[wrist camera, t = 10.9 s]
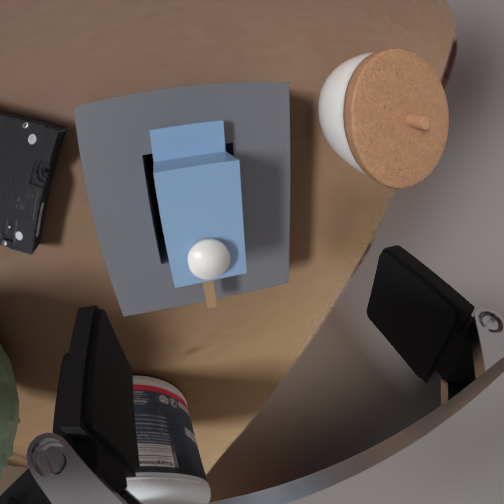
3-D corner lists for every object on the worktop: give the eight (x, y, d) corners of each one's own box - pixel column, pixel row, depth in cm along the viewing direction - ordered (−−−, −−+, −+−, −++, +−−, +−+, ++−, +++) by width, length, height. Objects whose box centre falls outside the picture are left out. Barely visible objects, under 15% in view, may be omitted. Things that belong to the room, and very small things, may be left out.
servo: (150, 126, 20) (147, 135, 12) (209, 117, 21) (240, 123, 14) (174, 270, 26) (186, 336, 19) (223, 261, 27) (252, 321, 20)
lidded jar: (321, 34, 20) (396, 16, 12) (401, 90, 24) (475, 101, 16) (278, 140, 23) (342, 162, 15) (367, 180, 28) (436, 214, 20)
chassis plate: (267, 85, 21) (288, 82, 17) (271, 260, 29) (288, 282, 25) (87, 107, 17) (73, 107, 14) (125, 288, 25) (123, 316, 22)
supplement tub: (186, 421, 37) (218, 533, 22) (100, 423, 33) (112, 539, 18) (186, 366, 32) (228, 516, 16) (78, 367, 27) (76, 520, 12)
